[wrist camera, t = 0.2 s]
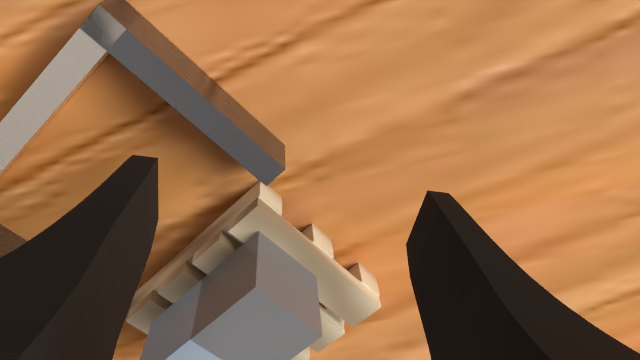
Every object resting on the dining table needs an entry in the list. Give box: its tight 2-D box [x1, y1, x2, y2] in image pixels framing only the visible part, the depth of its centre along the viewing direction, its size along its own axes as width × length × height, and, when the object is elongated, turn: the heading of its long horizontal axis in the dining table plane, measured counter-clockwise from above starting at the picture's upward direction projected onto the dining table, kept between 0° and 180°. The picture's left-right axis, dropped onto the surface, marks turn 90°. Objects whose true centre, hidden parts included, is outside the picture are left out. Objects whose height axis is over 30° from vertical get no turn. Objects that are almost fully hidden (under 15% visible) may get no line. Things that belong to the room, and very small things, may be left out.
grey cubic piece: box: [190, 231, 323, 360], centre depth 23 cm, size 4×4×4 cm
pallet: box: [125, 181, 381, 360], centre depth 27 cm, size 10×9×3 cm
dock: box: [0, 0, 285, 258], centre depth 23 cm, size 14×10×2 cm, turn 133°
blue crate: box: [140, 280, 221, 360], centre depth 25 cm, size 4×4×4 cm
